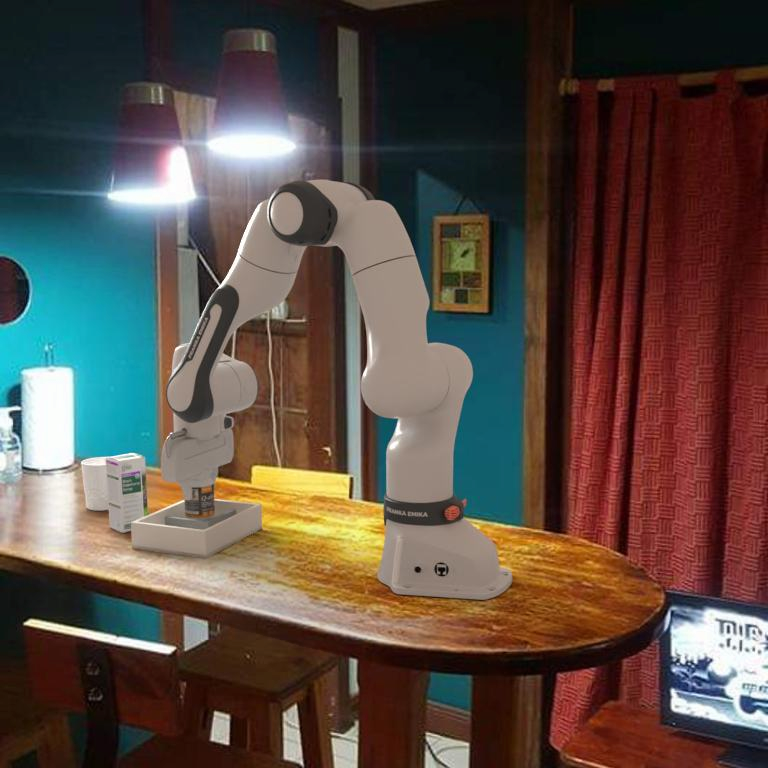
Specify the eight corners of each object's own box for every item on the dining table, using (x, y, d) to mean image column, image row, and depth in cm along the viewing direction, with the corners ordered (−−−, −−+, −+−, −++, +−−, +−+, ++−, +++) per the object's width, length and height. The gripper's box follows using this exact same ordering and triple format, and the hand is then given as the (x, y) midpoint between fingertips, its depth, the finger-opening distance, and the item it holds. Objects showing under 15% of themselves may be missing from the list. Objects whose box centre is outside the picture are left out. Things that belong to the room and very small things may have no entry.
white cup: (129, 505, 222) (127, 459, 220) (101, 513, 215) (99, 466, 214) (104, 500, 226) (101, 455, 224) (75, 508, 219) (73, 462, 218)
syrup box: (122, 533, 200) (119, 460, 198) (108, 527, 205) (105, 455, 203) (149, 528, 204) (146, 456, 202) (134, 522, 209) (131, 451, 206)
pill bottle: (208, 523, 199) (206, 472, 197) (180, 521, 200) (178, 471, 198) (219, 514, 204) (217, 465, 203) (191, 513, 205) (189, 464, 204)
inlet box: (262, 528, 203) (261, 504, 202) (205, 558, 185) (204, 531, 184) (192, 520, 209) (192, 496, 208) (132, 548, 191) (130, 522, 190)
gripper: (179, 435, 188) (182, 509, 190) (238, 417, 207) (240, 484, 209) (151, 433, 191) (154, 506, 193) (211, 415, 210) (213, 481, 212)
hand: (199, 494), depth 201 cm, fingers closed on pill bottle, 6 cm apart
